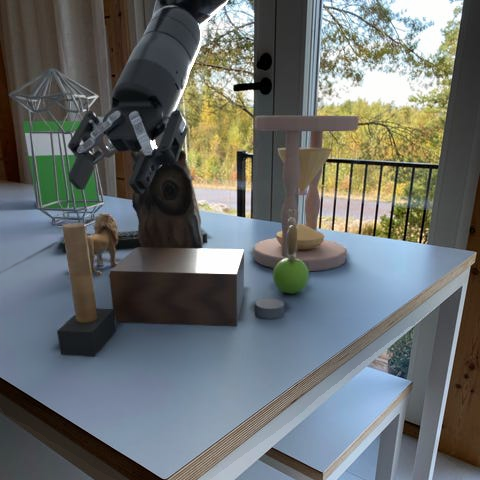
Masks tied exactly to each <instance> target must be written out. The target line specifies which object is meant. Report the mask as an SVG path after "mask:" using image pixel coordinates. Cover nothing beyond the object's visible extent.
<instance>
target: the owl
mask: <svg viewBox="0 0 480 480" xmlns="http://www.w3.org/2000/svg"><path fill="white" fill-rule="evenodd" d="M130 152H131V153H130V156H131V157H132V161H133V166H132V172H133V171H134V169H135V166H136V164H137V162H138V160H139V157H140V156H144V153H143V151H142V149H141V150H140V151H139V152H133V151H130ZM191 173H192V172H191V169H190V166H189V164H188V161H187V153H186V152H185V150H183V149H181V151H180V154H179V157H178V160H177V162H176V164H175V165H172V166H169V165H168V164H163V165H162V166H161V167H160V168H159V169H157V170H156V172H155V174H154V177H153V179H152V181H151V184H150V186H149V187H148V188H147V190H146V189H145V191H144V193H143V194H136V193H135V191H134V190H133V193H132V200H131V203H132V205H131V207H132V208H133V210H134V211H135V213H136V216H137V220H138V226H137V231H138V235H139V240H140V245H141V246H142V247H148V248H196V249H204V243H203V240H202V238H203V236H202V231H203V230H202V219H201V215H200V214H201V213H200V210H199V205H198V201H197V197H196V191H195V186H194V184H193V181H194V180H193V176H192V174H191ZM201 230H202V231H201Z"/></svg>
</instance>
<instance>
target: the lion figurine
mask: <svg viewBox="0 0 480 480" xmlns="http://www.w3.org/2000/svg"><path fill="white" fill-rule="evenodd" d="M92 225H93V230H94V233H93V234H91V235H87V239H88V247H89V255H90V263H91V271H92V275H94V276H101V274H102V272H101V271H100V270H96V269H95V258H96V266H98V267H102V266H104V264H105V263H104V260H103V253H105V252H107V251H108V253H109V264H110V265H111V266H112V267H115V266H116V265H117V264H118V263H119V262H117V261H116V252H117V251H116V250H117V249H115V246H116V244H117V243H118V232H119V230H118V225H117V220H116V219H115V218H114V216H113V215H111V214H110V213H106V212H101V213H99V214H98V215H96V216H95V222H94V223H93V224H92Z"/></svg>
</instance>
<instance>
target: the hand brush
mask: <svg viewBox="0 0 480 480" xmlns="http://www.w3.org/2000/svg"><path fill="white" fill-rule="evenodd" d="M86 224H87V223H85V224H84V223H83V222H81V223H79V222H69V223H65V224H62V225H63V226H61V227H62V234H63V238H64V241H65V248H66V252H65V255H66V260H67V269H68V275H69V281H70V289H71V294H72V302H73V308H74V315H73V316H72V317H70V318H69V319H68V320H67V321H66V322H65V323H64V324H63V325H61V326H60V328H58V329H57V330H56V333H57V340H58V345H59V350H60V351H59V352H60V355H61V356H81V357H82V356H84V357H96V356H97V354H98V353H99V352H100V351H101V350H102V348H103V347H104V346H105V345H106V344H107V343H108V342H109V340H110V339H111V338H112V337H113V336H114V334H115V333H116V332H117V326H116V324H117V323H116V322H115V315H114V309H113V308H100V307H99V308H98V307H97V302H96V295H95V287H94V279H93V273H92V271H91V263H90V255H89V247H88V239H87V234H88V232H87V226H86Z"/></svg>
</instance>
